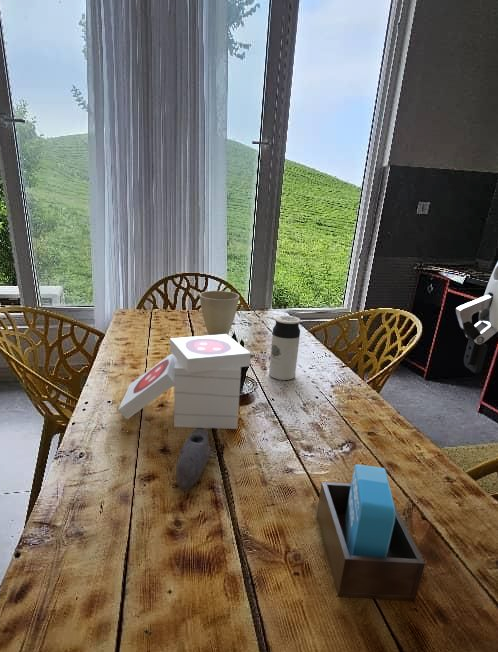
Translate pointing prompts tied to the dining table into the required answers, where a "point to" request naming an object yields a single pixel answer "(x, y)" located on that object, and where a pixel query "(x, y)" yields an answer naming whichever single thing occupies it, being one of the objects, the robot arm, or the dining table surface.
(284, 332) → the travel mug
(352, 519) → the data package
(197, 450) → the perforated stone tool
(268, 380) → the dining table surface
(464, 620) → the dining table surface
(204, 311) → the plant pot
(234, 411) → the pizza boxes
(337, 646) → the dining table surface
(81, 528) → the dining table surface
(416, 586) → the box
